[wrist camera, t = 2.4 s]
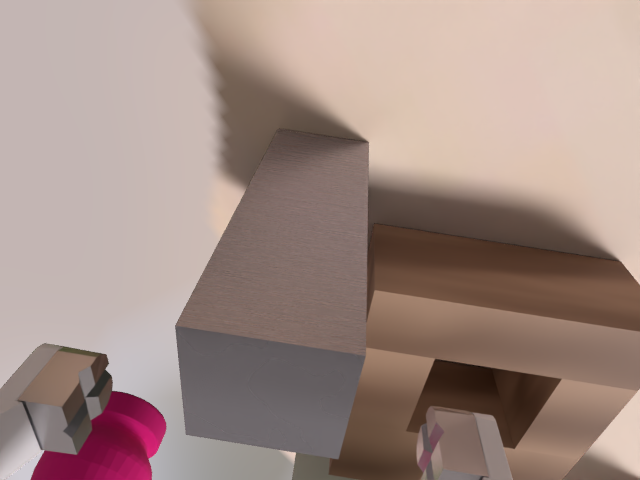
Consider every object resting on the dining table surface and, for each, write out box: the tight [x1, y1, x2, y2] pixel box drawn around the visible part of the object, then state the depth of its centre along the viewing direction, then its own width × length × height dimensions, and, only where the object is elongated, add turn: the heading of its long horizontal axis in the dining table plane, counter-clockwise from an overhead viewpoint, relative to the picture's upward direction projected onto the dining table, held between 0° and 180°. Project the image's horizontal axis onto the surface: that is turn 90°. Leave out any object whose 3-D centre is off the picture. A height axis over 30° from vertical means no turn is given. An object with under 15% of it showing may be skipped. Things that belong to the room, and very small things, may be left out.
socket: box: [328, 223, 640, 480], centre depth 23 cm, size 14×12×5 cm
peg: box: [175, 129, 369, 459], centre depth 15 cm, size 4×4×12 cm
